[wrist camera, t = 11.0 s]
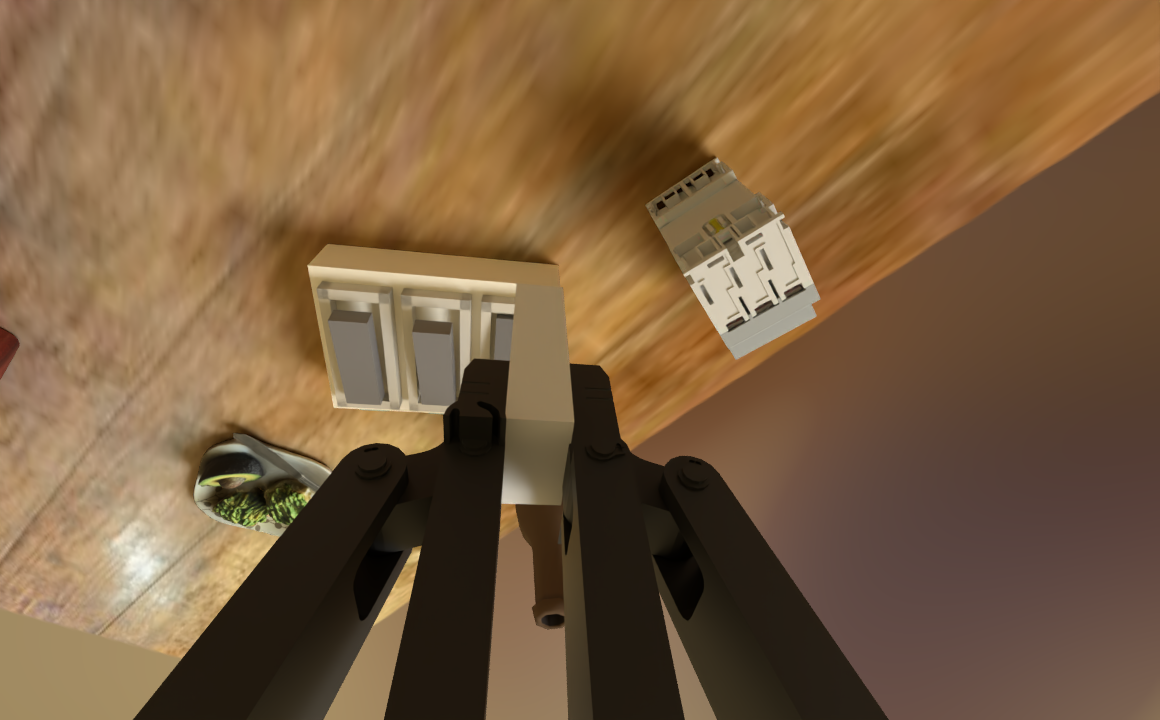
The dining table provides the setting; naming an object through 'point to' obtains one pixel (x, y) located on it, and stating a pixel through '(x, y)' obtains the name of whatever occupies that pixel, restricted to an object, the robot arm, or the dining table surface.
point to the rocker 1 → (357, 356)
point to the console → (416, 309)
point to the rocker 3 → (503, 337)
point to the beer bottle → (545, 560)
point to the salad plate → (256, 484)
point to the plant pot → (7, 349)
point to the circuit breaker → (736, 257)
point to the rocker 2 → (435, 361)
